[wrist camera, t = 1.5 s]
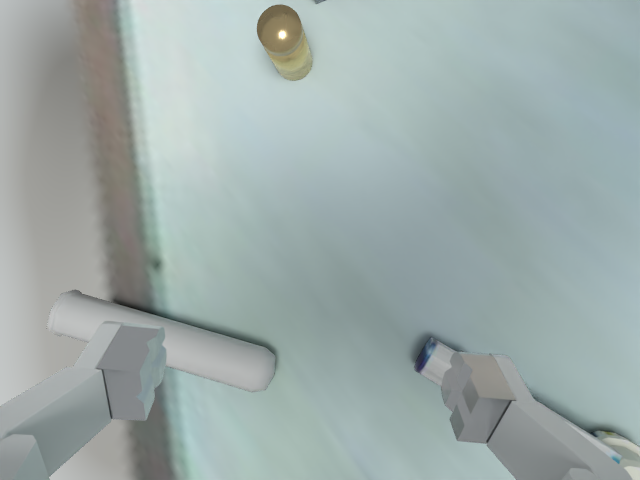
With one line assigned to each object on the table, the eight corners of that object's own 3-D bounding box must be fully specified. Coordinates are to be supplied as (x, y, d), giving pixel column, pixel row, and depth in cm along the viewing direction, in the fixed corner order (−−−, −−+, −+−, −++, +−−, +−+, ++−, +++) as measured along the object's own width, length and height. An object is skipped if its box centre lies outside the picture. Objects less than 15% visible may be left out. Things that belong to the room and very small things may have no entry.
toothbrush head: (436, 337, 40) (695, 488, 35) (433, 323, 47) (652, 450, 42) (410, 380, 41) (662, 536, 36) (411, 361, 47) (624, 491, 42)
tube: (278, 350, 42) (60, 286, 44) (263, 402, 41) (39, 334, 43) (283, 349, 47) (88, 292, 49) (270, 396, 46) (69, 335, 48)
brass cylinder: (306, 37, 44) (293, -2, 36) (316, 73, 44) (306, 42, 36) (271, 50, 44) (251, 13, 36) (282, 85, 44) (264, 57, 36)
